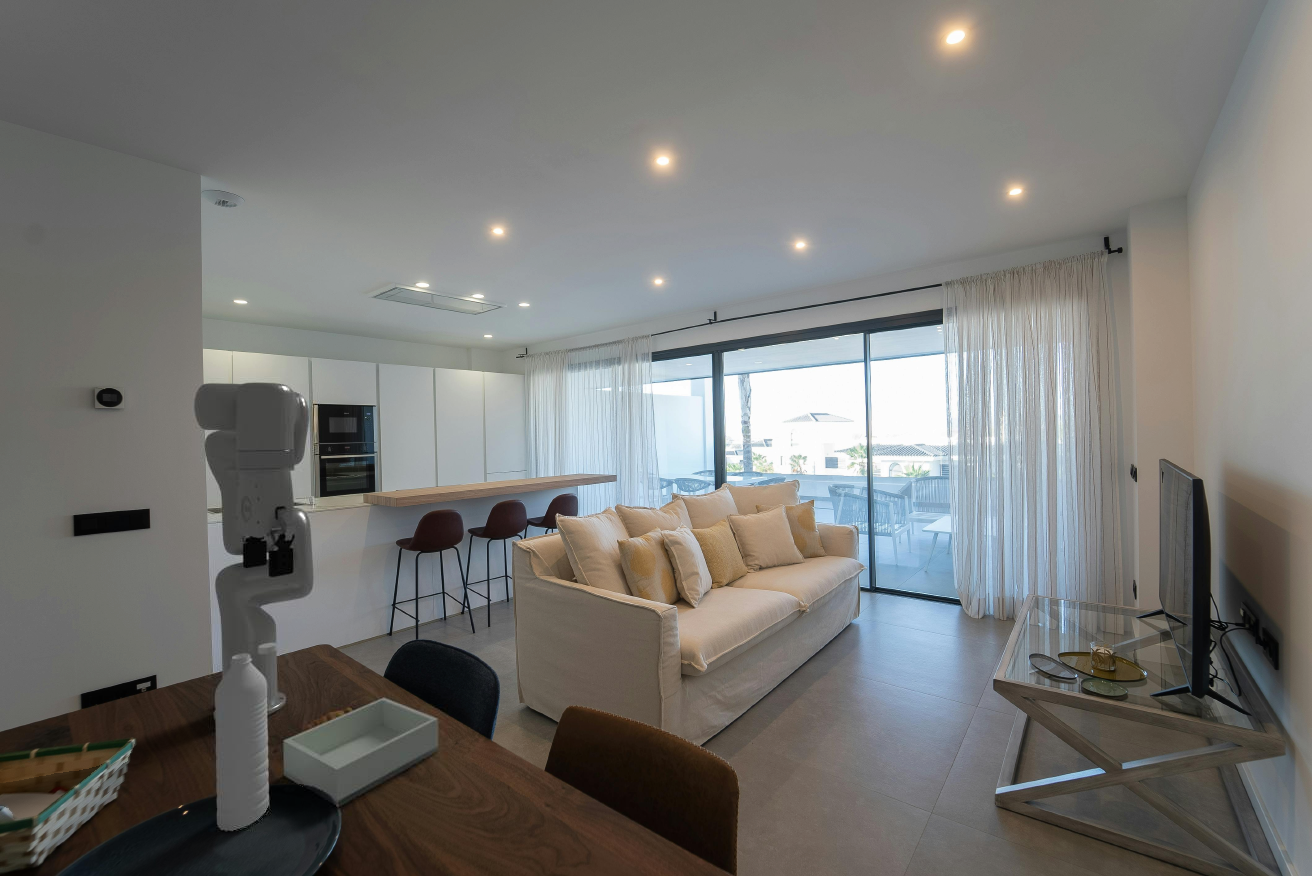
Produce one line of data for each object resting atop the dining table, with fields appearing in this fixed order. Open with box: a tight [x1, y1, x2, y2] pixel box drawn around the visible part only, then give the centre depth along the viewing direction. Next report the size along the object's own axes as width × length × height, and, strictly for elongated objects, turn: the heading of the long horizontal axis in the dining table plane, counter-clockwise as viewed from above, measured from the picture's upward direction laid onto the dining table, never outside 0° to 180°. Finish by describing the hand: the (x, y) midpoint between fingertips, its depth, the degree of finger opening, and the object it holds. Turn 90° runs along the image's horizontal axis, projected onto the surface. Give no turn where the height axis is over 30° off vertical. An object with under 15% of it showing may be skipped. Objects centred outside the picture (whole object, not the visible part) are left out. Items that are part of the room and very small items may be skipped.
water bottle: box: [214, 642, 278, 832], centre depth 89 cm, size 9×6×25 cm
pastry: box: [300, 707, 353, 733], centre depth 113 cm, size 9×7×4 cm
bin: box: [282, 697, 439, 807], centre depth 102 cm, size 17×19×6 cm
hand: (267, 570), depth 90 cm, fingers open, 9 cm apart
